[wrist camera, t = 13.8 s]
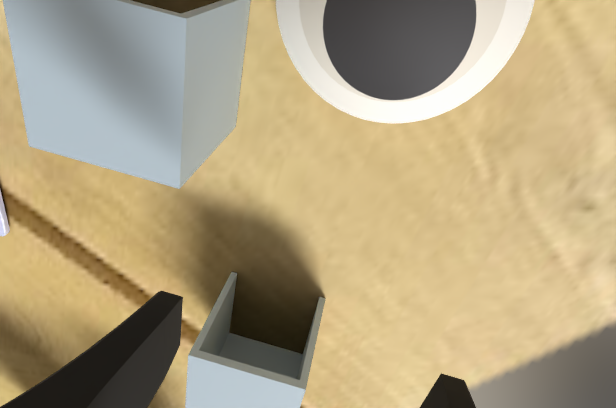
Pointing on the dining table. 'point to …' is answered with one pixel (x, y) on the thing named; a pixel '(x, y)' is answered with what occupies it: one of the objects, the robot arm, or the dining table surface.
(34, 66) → the cover
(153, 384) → the robot arm
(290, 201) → the dining table surface
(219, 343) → the cover
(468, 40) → the dark grey cylinder
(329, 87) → the dish
